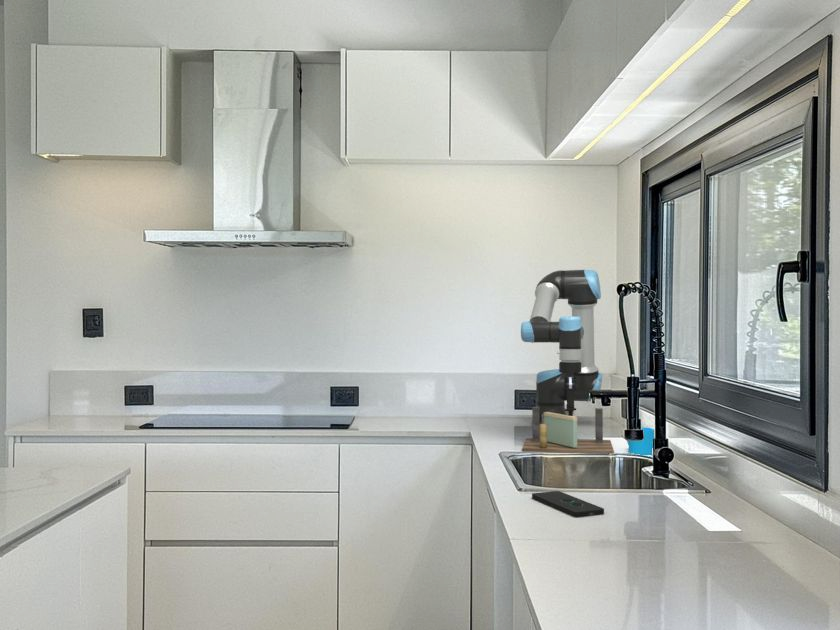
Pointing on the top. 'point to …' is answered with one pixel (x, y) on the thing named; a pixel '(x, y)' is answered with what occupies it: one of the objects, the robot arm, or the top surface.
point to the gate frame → (583, 445)
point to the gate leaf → (561, 428)
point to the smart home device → (568, 504)
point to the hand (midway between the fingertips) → (570, 429)
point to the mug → (643, 443)
